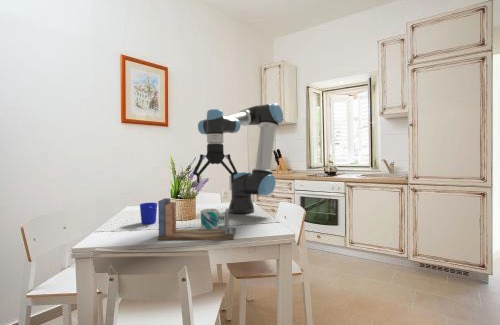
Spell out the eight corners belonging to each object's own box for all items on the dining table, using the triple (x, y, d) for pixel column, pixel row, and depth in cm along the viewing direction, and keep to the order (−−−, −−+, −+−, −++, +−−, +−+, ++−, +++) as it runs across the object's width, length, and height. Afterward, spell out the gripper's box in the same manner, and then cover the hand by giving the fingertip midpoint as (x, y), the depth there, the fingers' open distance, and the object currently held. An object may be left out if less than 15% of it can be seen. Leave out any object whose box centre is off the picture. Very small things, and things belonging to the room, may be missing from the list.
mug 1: (142, 227, 136) (141, 206, 136) (139, 223, 146) (138, 203, 146) (160, 225, 139) (159, 205, 139) (155, 221, 150) (155, 202, 150)
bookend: (226, 229, 125) (226, 208, 125) (235, 229, 125) (235, 208, 125) (225, 234, 116) (224, 212, 116) (235, 234, 116) (234, 212, 116)
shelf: (166, 232, 126) (165, 197, 126) (234, 231, 126) (234, 197, 126) (157, 240, 114) (157, 201, 114) (233, 239, 114) (233, 201, 114)
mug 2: (199, 227, 136) (199, 209, 136) (223, 224, 141) (223, 207, 141) (204, 230, 129) (203, 212, 129) (229, 228, 134) (229, 210, 134)
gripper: (186, 143, 128) (186, 191, 128) (242, 143, 129) (242, 190, 129) (189, 144, 136) (189, 189, 136) (242, 144, 137) (242, 188, 137)
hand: (215, 190), depth 133 cm, fingers open, 13 cm apart
